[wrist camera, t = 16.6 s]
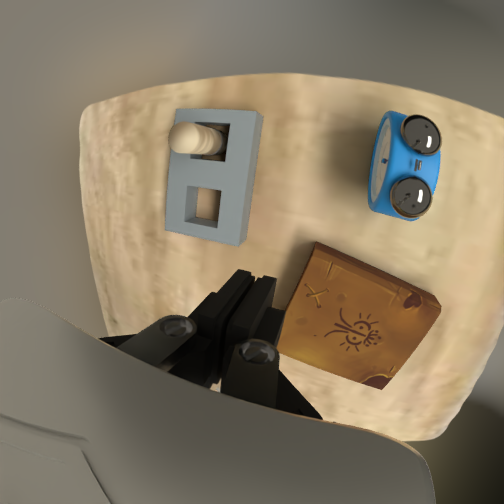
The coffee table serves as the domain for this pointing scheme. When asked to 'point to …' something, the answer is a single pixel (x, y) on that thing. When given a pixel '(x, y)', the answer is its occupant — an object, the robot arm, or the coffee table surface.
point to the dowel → (197, 139)
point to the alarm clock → (404, 166)
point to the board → (215, 177)
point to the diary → (354, 318)
